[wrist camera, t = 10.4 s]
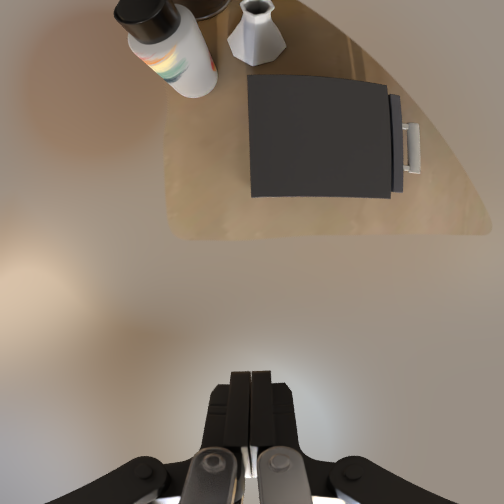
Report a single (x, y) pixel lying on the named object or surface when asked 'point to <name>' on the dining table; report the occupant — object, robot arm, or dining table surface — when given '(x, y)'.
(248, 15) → the flask
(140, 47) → the lotion bottle
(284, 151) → the cabinet
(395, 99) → the drawer
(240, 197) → the dining table surface
